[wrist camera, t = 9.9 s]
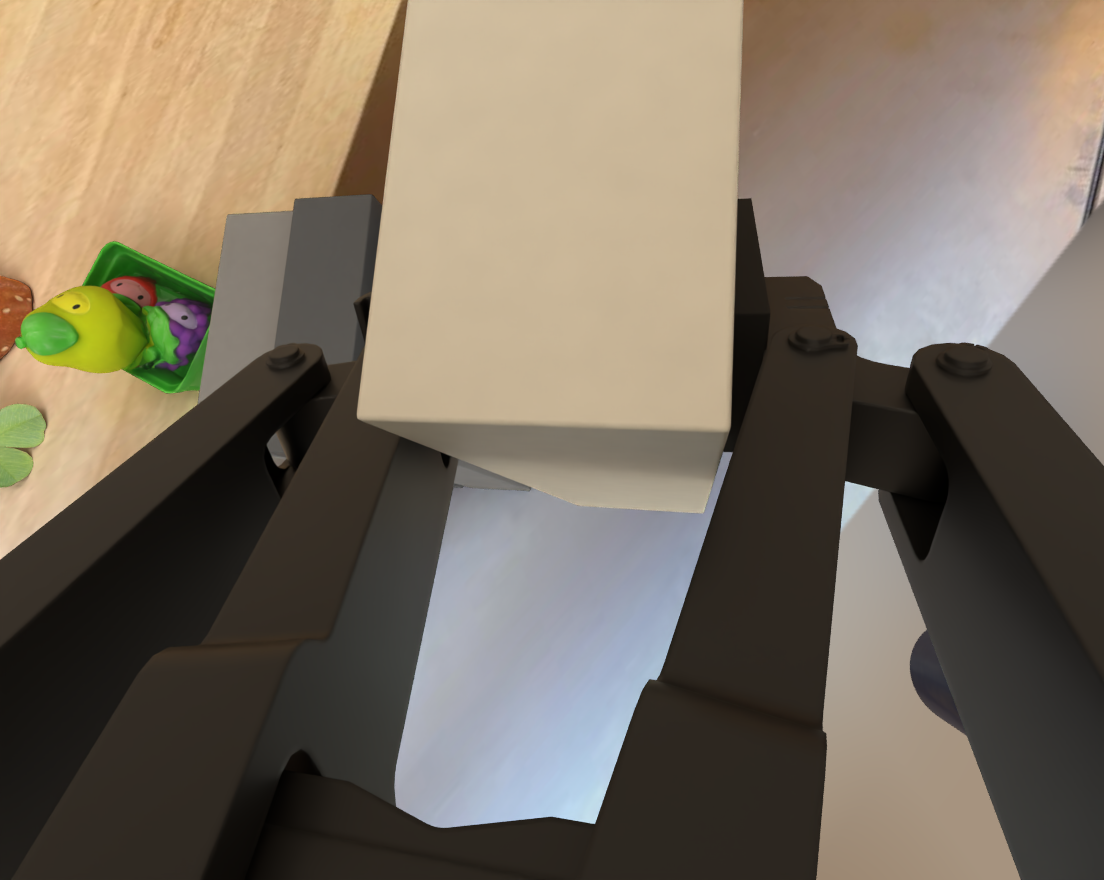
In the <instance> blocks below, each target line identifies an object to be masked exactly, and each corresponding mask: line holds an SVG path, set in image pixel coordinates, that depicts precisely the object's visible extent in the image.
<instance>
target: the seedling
mask: <svg viewBox="0 0 1104 880" xmlns="http://www.w3.org/2000/svg"><path fill="white" fill-rule="evenodd" d="M45 429H46V423H45V420H44V419H43V417H42V414H41V413H40V412H39V410H37V408H35V407H34V406H30V405H27V404H14V405H10V406H7V407H5V408H3V409H1V410H0V487H8V486H11V485H13V484H15V483H16V482H18V481H20V480H22V479H23V478H25V477H26V476H28V475H29V473H30V472H31V470H32V467H33V461H32V457H30V456H29V454H27V453H26V452H23V451H21V450H18V449H14V448H9V447H15V448H16V447H17V448H29V447H35V446H38V445H40V444H41V443H42V442H43V440H44V432H43V431H44V430H45Z"/></svg>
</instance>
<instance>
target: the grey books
mask: <svg viewBox="0 0 1104 880" xmlns="http://www.w3.org/2000/svg"><path fill="white" fill-rule="evenodd" d="M381 214H382V205H381V204H380V203H379V202H378V200H377V199H376V198H375V197H374V196H373V195H371V194H368V195H351V196H335V197H318V198H301V199H295V201H294V209H293V211H281V212H263V213H245V214H228V215H227V218H226V225H225V231H224V238H223V244H222V250H221V257H220V263H219V270H218V276H217V283H216V289H215V295H214V302H213V308H212V315H211V321H210V327H209V334H208V340H207V347H206V353H205V359H204V366H203V372H202V379H201V385H200V391H199V398H198V404H199V403H200V402H202V401H203V400H204V399H205V398H207V397H208V396H209V395H210V394H212V393H213V392H214V391H216V390H217V389H218V388H219V387H221V386H222V385H223V384H224V383H226V382H227V381H228V380H229V379H231V378H232V377H233V376H235V375H236V374H237V373H238V372H240V371H241V370H242V369H243V368H245V367H246V366H247V365H249V364H250V363H251V362H252V361H254V360H255V359H256V358H258V357H259V356H261V355H263V354H264V353H266V352H268V351H271V350H273V349H275V348H276V347H277V346H280V345H284V344H285V345H287V344H289V343H296V344H301V343H308V344H315V345H317V346H319V347H320V348H322V351H323V354H324V356H325V359H326V362H327V365H332V364H338V363H345V362H351V361H356V360H357V359H358V357H359V355H360V353H361V351H362V349H363V348H364V346H365V342H364V339H363V335H362V332H361V328H360V325H359V322H358V318H357V315H356V312H355V308H354V305H353V303H354V302H355V301H356V300H357V299H358V298H359V297H361V296H363V295H365V294H367V293H369V292H372V286H373V278H374V270H375V262H376V254H377V246H378V238H379V230H380V222H381ZM198 404H197V405H198ZM267 447H268V449H269V451H270V454H271V456H272V458H273V460H274V462H275V464H276V465H277V466H279V465H281V464H282V463H283V462H284V461H285V460H286V459H287V458H286V455H285V453H284V451H283V448H282V446H281V444H280V441H279V439H278V437H277V434H276V433H275V434H274V435H273V436H272V437H271V439H270V440H269V442H268V443H267ZM463 486H466V487H469V488H480V489H500V490H520V491H530V487H529V486H527V485H524V484H522V483H519V482H516V481H514V480H511V479H509V478H506V477H504V476H501V475H498V474H496V473H493V472H491V471H488V470H486V469H483V468H481V467H478V466H475V465H473V464H470V463H468V462H465V461H463V460H460V459H459V461H458V466H457V471H456V476H455V481H454V486H453V487H460V488H462V487H463Z"/></svg>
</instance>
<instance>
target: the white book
mask: <svg viewBox="0 0 1104 880" xmlns="http://www.w3.org/2000/svg"><path fill="white" fill-rule="evenodd" d="M742 33H743V0H408V4H407V12H406V20H405V28H404V36H403V45H402V53H401V61H400V69H399V77H398V85H397V93H396V101H395V109H394V117H393V125H392V133H391V141H390V149H389V157H388V165H387V173H386V182H385V190H384V198H383V206H382V214H381V222H380V230H379V238H378V246H377V254H376V262H375V270H374V278H373V286H372V294H371V302H370V310H369V318H368V327H367V335H366V343H365V351H364V359H363V367H362V375H361V383H360V391H359V399H358V407H357V418H358V419H359V420H361V421H363V422H365V423H368V424H371V425H373V426H376V427H378V428H381V429H383V430H386V431H388V432H391V433H394V434H396V435H399V436H401V437H404V438H406V439H409V440H411V441H414V442H417V443H419V444H422V445H424V446H427V447H429V448H432V449H434V450H437V451H440V452H442V453H445V454H447V455H450V456H452V457H455V458H458V459H460V460H463V461H465V462H468V463H470V464H473V465H475V466H478V467H481V468H483V469H486V470H488V471H491V472H493V473H496V474H498V475H501V476H504V477H506V478H509V479H511V480H514V481H516V482H519V483H522V484H524V485H527V486H529V487H532V488H534V489H537V490H539V491H542V492H545V493H547V494H550V495H552V496H555V497H557V498H560V499H562V500H565V501H568V502H570V503H573V504H575V505H578V506H589V507H605V508H621V509H637V510H654V511H670V512H686V513H704V511H705V508H706V504H707V501H708V498H709V495H710V492H711V488H712V485H713V482H714V479H715V476H716V473H717V469H718V466H719V463H720V460H721V457H722V453H723V450H724V447H725V444H726V441H727V437H728V434H729V431H730V428H731V406H732V372H733V338H734V304H735V270H736V236H737V202H738V169H739V135H740V101H741V67H742Z"/></svg>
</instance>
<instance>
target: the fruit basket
mask: <svg viewBox="0 0 1104 880" xmlns="http://www.w3.org/2000/svg"><path fill="white" fill-rule="evenodd" d="M214 295H215V288H212V287H210V286H208V285H206V284H204V283H202V282H199V281H197V280H195V279H193V278H191V277H189V276H187V275H185V274H183V273H181V272H178V271H176V270H174V269H172V268H170V267H168V266H166V265H164V264H162V263H160V262H158V261H156V260H154V259H152V258H150V257H148V256H145V255H143V254H141V253H139V252H137V251H135V250H133V249H131V248H129V247H127V246H125V245H123V244H121V243H119V242H116V241H113V242H110V243H108V244H106V245H105V246H104V247H103V248H102V249H101V251H100V253H99V255H98V257H97V259H96V261H95V262H94V264H93V266H92V268H91V270H90V272H89V274H88V276H87V277H86V279H85V281H84V283H83V285H82V286H79V287H75V288H72V289H69V290H67V291H65V292H63V293H61V294H59V295H57V296H55V297H54V298H52V299H50V300H49V301H48V302H47V303H46V304H44V305H42V306H41V307H39V308H37V309H35V310H33V311H32V312H30V313H29V314H28V315H27V316H26V317H25V318H24V320H23V322H22V324H21V337H17V338H16V339H15V343H16V345H17V347H18V348H20V349H22V348H25V347H26V349H27V350H28V351H29V353H30V354H31V355H32V356H33V357H34V358H35V359H36V360H38V361H40V362H42V363H44V364H47V365H53V366H65V367H71V368H75V369H78V370H82V371H86V372H92V373H110V372H114V371H118V370H120V369H122V370H124V371H126V372H128V373H130V374H132V375H133V376H135V377H137V378H139V379H141V380H142V381H144V382H146V383H148V384H150V385H152V386H153V387H155V388H157V389H159V390H161V391H162V392H164V393H179V392H183V391H191V390H200V385H201V379H202V372H203V366H204V359H205V353H206V347H207V340H208V334H209V327H210V321H211V315H212V308H213V302H214Z"/></svg>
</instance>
